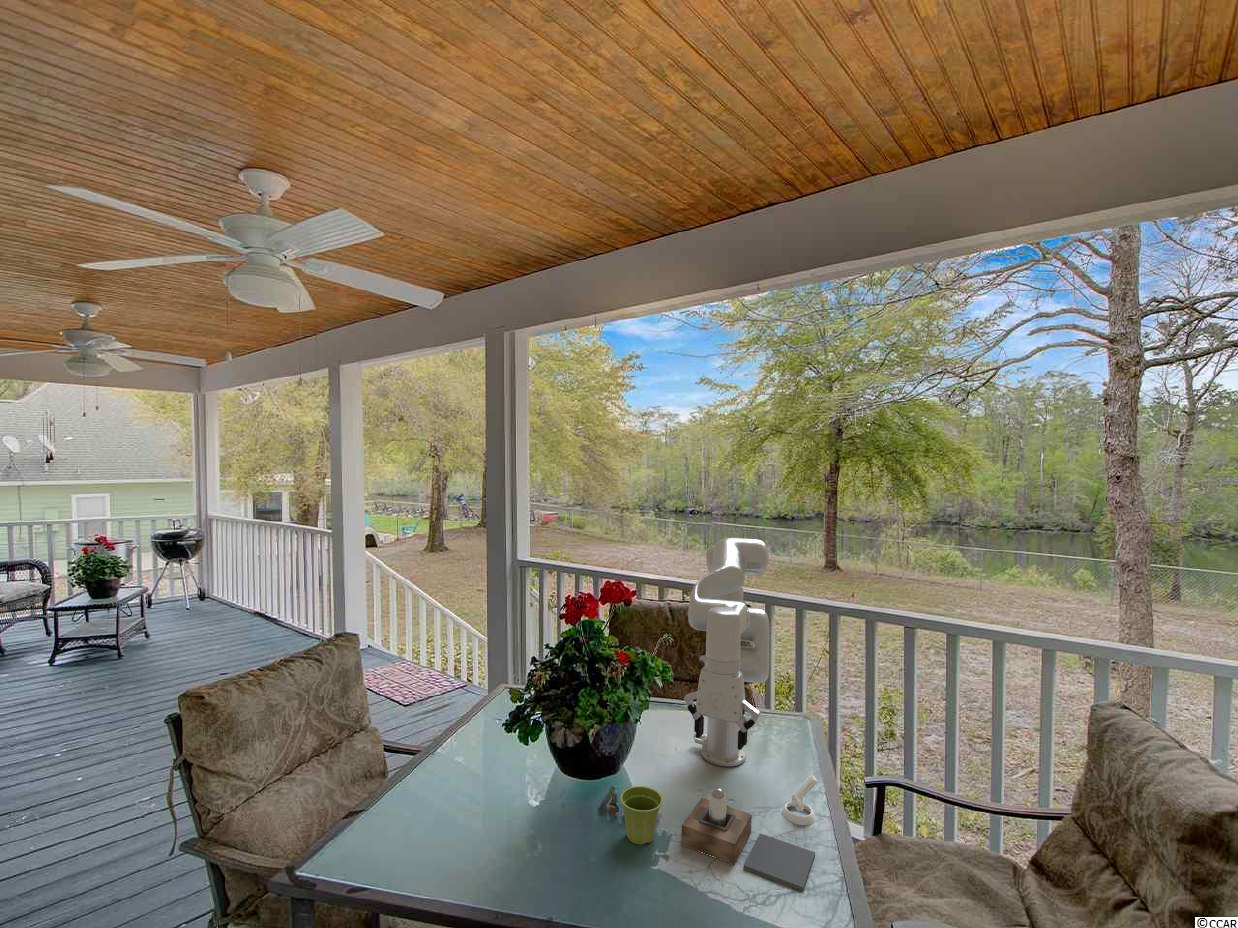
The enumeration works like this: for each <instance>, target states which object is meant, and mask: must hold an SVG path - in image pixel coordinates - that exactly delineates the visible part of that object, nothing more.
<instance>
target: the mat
mask: <svg viewBox="0 0 1238 928" xmlns="http://www.w3.org/2000/svg"><path fill="white" fill-rule="evenodd" d="M815 858H816V851H813V850H809V849H807V848H803V847H801V846H798V845H795V844H792V843H790V842H787V841H783V840H781V839H777V838H775V837H771V836H770V835H767V834H764V833H759V834H758V836H757V838H756V840H755V842H754V844H753V846H752V847H751V850H750V852H749V854H748V856H747V858H746V860H745V862H744V864H743V870H745V871H749V872H751V873H753V874H755V875H758V876H762V877H764V878H767V879H769V880H773V881H774V882H777V883H779V884H783V885H786V886H788V887H791V888H793V889H795V890H799V891H801V892H804V890H805V886H806V884H807V880H808V878H809V875H810V872H811V869H812V865H813V863H814V860H815Z"/></svg>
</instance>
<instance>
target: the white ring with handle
mask: <svg viewBox="0 0 1238 928" xmlns="http://www.w3.org/2000/svg"><path fill="white" fill-rule="evenodd" d="M817 783H818V780H817V778H816V777H815V776H814V775H813V774H810V775H809V776H808V777H807V778H806V779H805V780H804V781H803V783H801V785H799V787H797V789H795V791H794V793H793V794H792V795H791V801H788V802H786V803H785V804H784V806H783V807H782V810H781V813H782V816H783V817H784V819H786V820H787V821H789V822H790V823H793V824H796V825H798V826H809V825H811V824H813V823H815V822H816V814H815V812H814V810H813V808H812V807H811V806H810V805H809V804H807V803H805V802H803V799H804V798H805V797H806V796H807V794H808V793H810V791H811V790H812V789H813V788H814V787H815V786H816V785H817ZM790 807H794V808H795V809H796V811H799V812H803V811H804V810H806V811H807V812H809V814H808V815H797V814H795V813H793V812H791V811H790V810H789V809H788V808H790Z"/></svg>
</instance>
